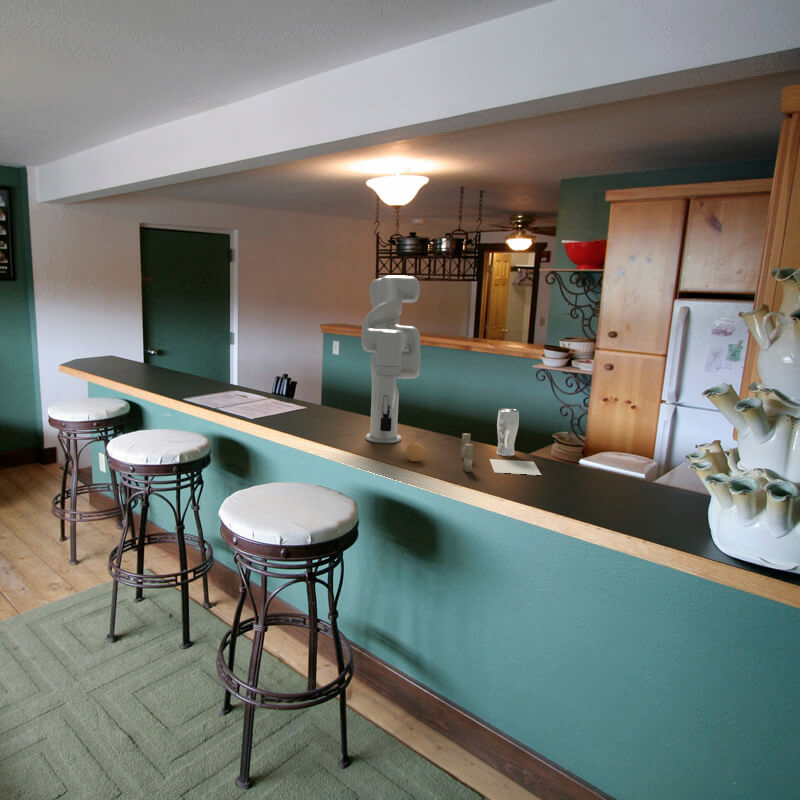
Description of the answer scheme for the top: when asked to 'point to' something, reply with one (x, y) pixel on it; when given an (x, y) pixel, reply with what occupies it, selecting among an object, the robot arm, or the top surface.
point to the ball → (415, 452)
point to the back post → (464, 441)
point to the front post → (468, 458)
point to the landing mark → (514, 467)
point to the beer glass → (507, 431)
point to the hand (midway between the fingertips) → (385, 430)
